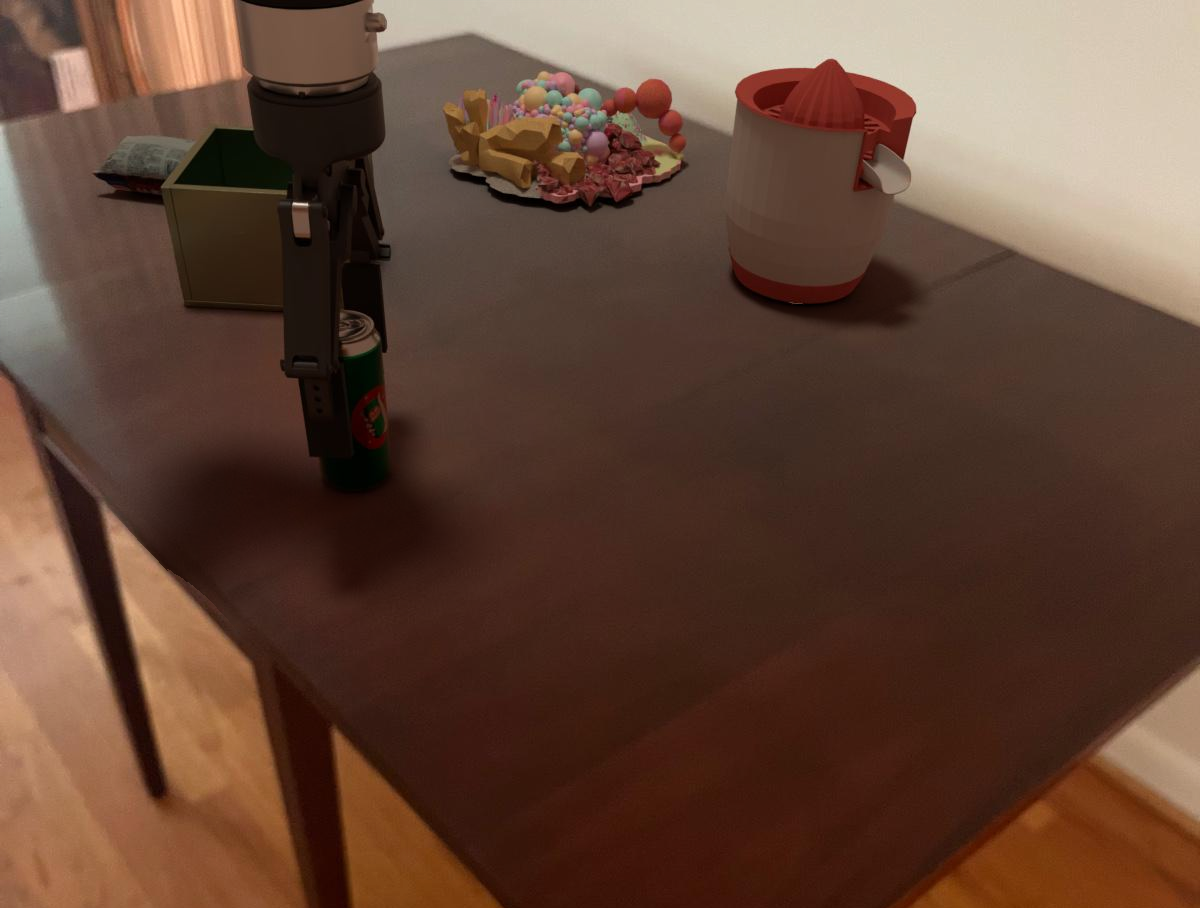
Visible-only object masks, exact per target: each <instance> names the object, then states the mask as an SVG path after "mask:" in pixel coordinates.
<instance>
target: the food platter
mask: <svg viewBox="0 0 1200 908" xmlns="http://www.w3.org/2000/svg"><path fill="white" fill-rule="evenodd" d="M515 91H516V94H517V96H518V97H519V98H518V99H516V100H515V101H514V102H513V104H510V103H508V104H507V102H504V100H502V103H501V92H498V94H497V92H495V94H493V97H492V100H491V99H488V98H487V93H486V89H481V88H478V90H475V89H468V90H462V91H461V93H460V94H459V97H458V98H459V99H458V103H457V105H455V104H454V103H451V102H449V101H446V103H445V104H444V106H443V108H442V110H443V113H444V117H445V120H446V124H447V131H448V133H449V136H450V137H451V139H452V141H453V146H454V147H455V153H457V154H455V155H452V156H451V157H450V159H449V161H448V163H447V164H448V165H449V166H450V167H451V169H452V170H454V171H455V172H459V173H464V174H470V175H472V176H476V177H482V178H483V177H484V178H486V179H485V182H486V183H487V184H489V187H490V188H491V189H494V190H496V191H498V192H500V193H503V194H510V195H511V194H512V195H516V196H518V197H523V198H533V199H543V200H544V201H550V202H552V203H553V204H558V205H559V204H566V203H571V202H574V201H576V200H577V199H581V200H582V201H583V202H584V203H586V204H587V205H588V207H591V206H592V205H593V204H594V202H595V201H596V199H598V197H602V198H613V200H614V201H615V202H616V203H618V202H620V201H622V200H624V199H626V198H628V197H630V196H633V195H634V193H636V192H640V191H641V190H642V186H643V184H652V183H661V182H662V181H663V180H666V179H670V178H671V175H673V174H675V173H676V172H679V171H680V170H681V164H682V161H683V159H684V158H685V154H684V152H683V151H684V150H685V148H686V146H687V140H686V138H685V136H684V135H683V134H681V133H680V131H682V128H683V125H684V122H683V121H684V120H683V117H682V115H681V114H680V113H679V112H678V111H677V110H676V109H675V110H674V109H671V106H672V103H673V94H672V91H671V89H670V87H669V85H668V84H667V83H666V82H664V81H663V80H662V79H659V78H649V79H647V80H645V81H643V82H642V83H640V85H639V86H638V87H637V89H636V92H635V91H634V90H633V89H632V88H630V87H627V86H626V87H621V88H619V89H617V90H616V92H615V93H614V95H613V99H611V98H609V99H607V100H605V101H604V102H603V98H602V96H601V93H600V92H599V91H598V90H596V89H595V88H592V87H585V88H583V89H582V88H581V87H580V85H578V84H576V83H575V80H574V78H573V76H571V74H569V73H567V72H564V71H559V72H556V73H549V72H548V71H544V70H543V71H540V72H539V73H538V75H537V77H536V78H534V79H533V80H532V79H523V80H521V81H520V82H519V83H518V84H517V85H516V87H515ZM635 108H637V111H638V112H639V114H641V115H642V116H643V117H644V118H646V119H650V120H651V119H652V120H657V125H658V126H657V127H658V129H659V131H660V133H662V134H663V135H664V136H667V137H670V138H669V139H668V140H669V141H668V144H666V143H664V142H661V141H660V140H657V139H653V138H651V137H649V136H647V135H645V134H643V132H642V128H641V126H640V125H639V122H638V121H637V120H636V116H634V115H633V114H632V113H631V112H633V111H634V110H635ZM549 114H550V115H549ZM678 170H679V171H678Z"/></svg>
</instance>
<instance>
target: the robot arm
mask: <svg viewBox="0 0 1200 908" xmlns="http://www.w3.org/2000/svg"><path fill="white" fill-rule="evenodd" d="M232 1H233V6H234V15H235V21H236V28H237V35H238V42H239V48H240V57H241V62H242V68H243V69H244V70H245V71H246V72H247V73H248V74H250V75H251V77H250V79H249V81H248V82H247V85H246V89H247V95H248V102H249V109H250V116H251V123H252V127H253V130H254V136H255V140H256V143H257V144H258V146H259V147H260V148H261V149H262V150H263V151H264V152H266V153H267V154H269V155H271V156H273V157H275V158H277V157H278V158H280V159H282V160H283V161H285V162H287V163H288V164H289V165H290V166H291V167H292V169H293V182H288V185H287V199H280V200H279V204H278V207H277V212H278V215H279V223H280V231H281V240H282V272H283V311H282V313H283V356H284V358H283V359H279V366H280V370H281V372H284V376H285V377H286V378H287V379H297V381H298V388H299V394H300V401H301V409H302V415H303V421H304V428H305V434H306V442H307V449H308V455H309V458H319V457H325V458H347V459H352V457H353V454H354V448H353V439H352V431H351V422H350V414H349V405H348V397H347V389H346V380H345V372H344V363H339V360H338V350H339V327H340V303H341V286H342V295H343V303H344V310H352V311H357V312H361V313H363V314H366V315H367V316H369V317H370V318H371V319H372V320H373V322H374V328H375V329H376V330H377V331H378V333H379V334H380V336H381V344H382V354H387V353H388V352H387V351H388V339H387V338H388V335H387V325H386V324H387V323H386V313H385V303H384V291H383V281H382V269H381V264H380V263H375V261H380V262H390V261H391V257H392V247H391V243H380V241H381V242H382V241H383V239H384V236H385V231H386V230H385V228H384V224H383V219H382V215H381V211H380V206H379V201H378V197H377V192H376V187H374V186H375V181H374V182H373V178H372V173H371V169H370V164H369V159H368V155H369V154H371V153H372V154H373V153H374V152H375V151H377V150H379V148H380V147H381V146H382V145H383V143H384V142H385V139H386V133H387V131H386V121H385V120H386V119H385V109H384V108H385V107H384V96H383V84H382V80H381V79H380V78H379V77H378V75H377V74H376V73H375V72H374V71H375V70H376V69H377V68H378V66H379V63H380V62H379V61H380V58H379V57H380V56H379V46H378V34H379V33H383V32H385V31H386V30H387V28H388V19H387V17H386V15H385V14H384V13H382V12H374V9H373V4H374V3H375V0H232ZM377 33H378V34H377ZM378 241H379V242H378ZM348 259H350V263H343V262H345V261H346V260H348Z"/></svg>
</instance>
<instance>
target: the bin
mask: <svg viewBox="0 0 1200 908" xmlns="http://www.w3.org/2000/svg"><path fill="white" fill-rule="evenodd" d="M195 141H196V142H195V144H194V145H193V146H192V147H191V149H190V150H189V151H188V153H187V154H186V155H185V156H184V158H183V159H182V160H181V162H180V163H179V164H178V165H177V167H176V168H175V169H174V171H173V172H172V173H171V174H170V176H169V177H168V178H167V180H166V181H165V182H164V183H163V185H162V186H161V192H162V195H161V197H162V200H163V201H162V202H163V206H164V211H165V216H166V221H167V226H168V231H169V236H170V241H171V245H172V251H173V255H174V261H175V265H176V271H177V275H178V281H179V285H180V290H181V294H182V299H183V305H184V307H191V308H192V307H195V308H209V309H210V308H213V309H230V310H231V309H232V310H249V311H267V312H268V311H269V312H283V272H282V240H281V231H280V223H279V215H278V212H277V207H278V204H279V200H280V199H287V185H288V182H293V169H292V167H291V166H290V165H289V164H288V163H287V162H285V161H283V160H282V159H280V158H278V157H277V158H275V157H273V156H271V155H269V154H267V153H266V152H264V151H263V150H262V149H261V148H260V147H259V146H258V144H257V143H256V140H255V136H254V130H253V126H248V125H247V126H245V125H232V124H230V125H229V124H211V123H210V124H208V126H207V127H206V128H205V129H204V130H203V132H202V134H200V136H199V137H198V138H197V140H195ZM368 159H369V164H370V169H371V173H372V178H373V182H374V183H375V174H374V163H373V153H371V154H369V155H368ZM375 186H376V185H374V187H375ZM375 188H376V187H375ZM378 242H379V243H380V241H378ZM343 263H350V259H348V260H346V261H345V262H343ZM340 310H344V303H343V295H342V286H341V303H340Z"/></svg>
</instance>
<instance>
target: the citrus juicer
mask: <svg viewBox="0 0 1200 908" xmlns="http://www.w3.org/2000/svg"><path fill="white" fill-rule="evenodd" d="M734 94H735V98H736V107H735V116H734V123H733V130H732V138H731V146H730V154H729V162H728V171H727V180H726V190H725V205H724V208H725V209H724V211H725V229H726V234H727V240H728V253H729V257H730V261H731V265H732V268H733V271H734V275H735V276H736V279H737V280H738V281H739V282H740V283H741V284H742V285H743V286H744V287H746V288H747V289H749V290H750V291H752V292H754V293H757V294H758V295H760V296H764V297H767V298H768V299H773V300H776V301H781V302H786V303H788V302H793V303H805V304H807V305H808V304H822V303H824V304H825V303H829V302H834V301H837V300H840V299H843V298H844V297H847V296H848V295H850V294H851V293H852V292H853V291H855V288H856V287H857V286H858V284H859V283H860V282H861V280H862V279H863V277H864V276H865V274H866V272H867V271H868V269H869V266H870V262H871V261H872V259H873V258H874V255H875V253H876V252H877V250H878V248H879V245H880V243H881V241H882V238H883V236H884V234H885V231H886V229H887V225H888V222H889V220H890V219H889V218H890V216H891V211H892V208H893V206H894V205H893V204H894V200H895V195H898V194H901V193H903V192H905V191H906V190H908V189H909V187H910V185H911V182H912V170H911V168H910V166H909V165H908V164H907V163H906V161H904V160H905V156H906V152H907V146H908V143H909V142H908V141H909V137H910V133H911V130H912V129H911V128H912V124H913V120H914V118H915V116H916V115H917V103H916V102H915V100H914V98H913V97H912V96H911V95H910V94H908V93H907V92H906V91H904V90H902V89H901V88H899V87H897V86H895V85H893V84H891V83H889V82H886V81H883V80H880V79H877V78H874V77H871V76H868V75H864V74H858V73H854V72H849V71H846V70H845V68H843V66H842V65H841V63H839V61H838V60H837V59H835V58H827V59H826V60H824V61H823V62H821V63H819V64H818V65H817V66H816V67H785V68H784V67H783V68H774V69H767V70H762V71H759V72H756V73H752V74H750V75H748V76H745V77H744V78H742V79H741V80H740V81H739V82H738V83H737V85H736V87H735V90H734Z"/></svg>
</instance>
